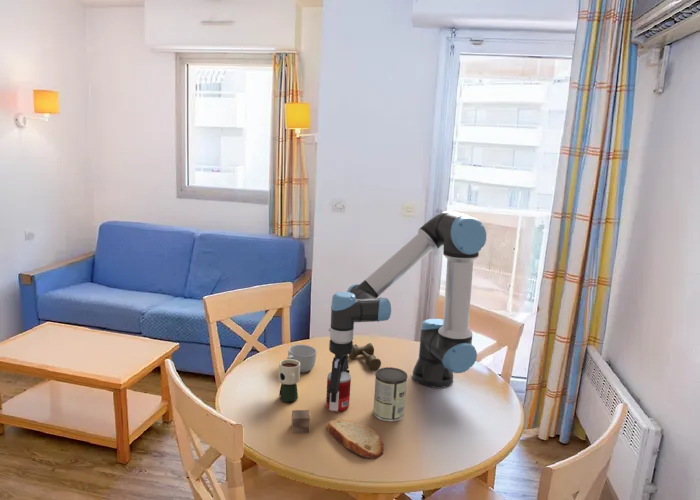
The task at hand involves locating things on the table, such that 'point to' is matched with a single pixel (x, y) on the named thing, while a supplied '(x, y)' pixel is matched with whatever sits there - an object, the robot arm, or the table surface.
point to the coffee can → (390, 394)
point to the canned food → (341, 391)
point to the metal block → (300, 421)
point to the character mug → (289, 379)
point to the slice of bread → (357, 438)
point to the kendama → (366, 355)
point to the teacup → (303, 356)
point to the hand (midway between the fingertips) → (337, 400)
